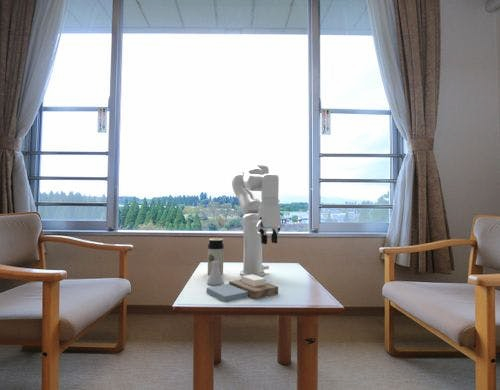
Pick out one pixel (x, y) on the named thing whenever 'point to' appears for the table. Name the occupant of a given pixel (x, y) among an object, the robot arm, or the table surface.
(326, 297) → the table surface
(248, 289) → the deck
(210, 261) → the travel mug
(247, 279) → the tile
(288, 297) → the table surface
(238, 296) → the mat
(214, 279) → the flask
